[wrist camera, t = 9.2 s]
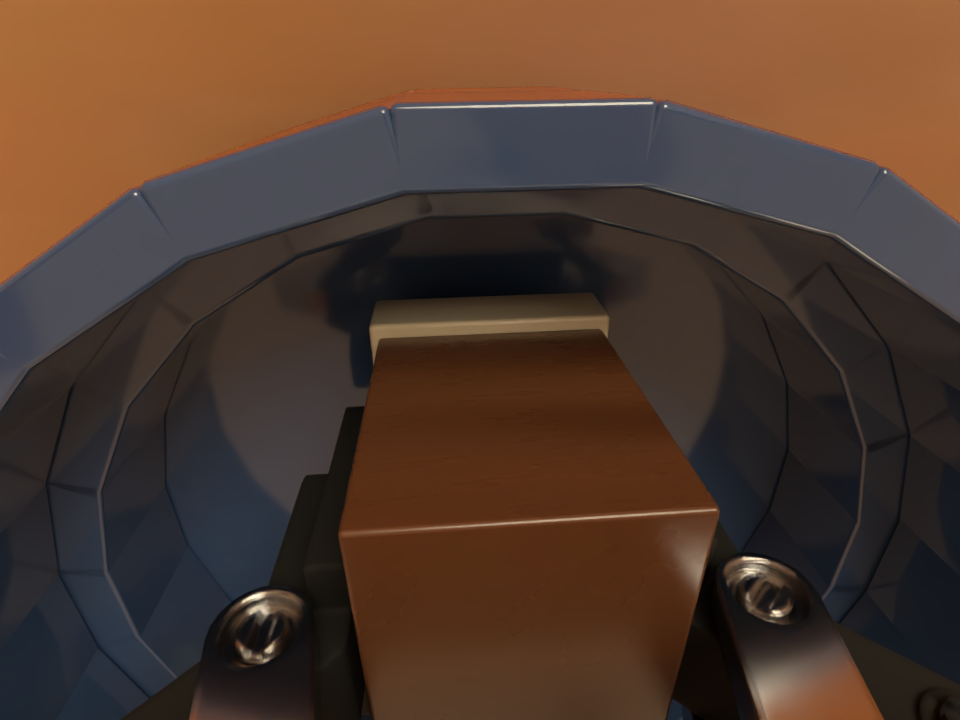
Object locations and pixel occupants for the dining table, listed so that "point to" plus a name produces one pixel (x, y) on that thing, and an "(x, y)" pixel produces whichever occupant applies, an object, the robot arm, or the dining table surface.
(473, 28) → the dining table surface
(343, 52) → the dining table surface
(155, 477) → the bowl
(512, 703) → the eraser
